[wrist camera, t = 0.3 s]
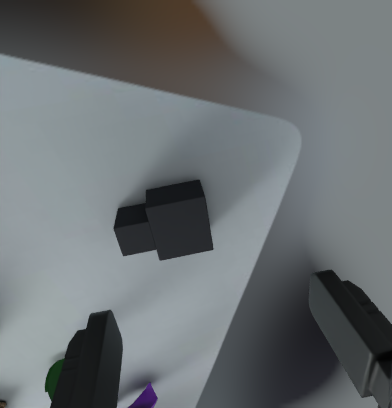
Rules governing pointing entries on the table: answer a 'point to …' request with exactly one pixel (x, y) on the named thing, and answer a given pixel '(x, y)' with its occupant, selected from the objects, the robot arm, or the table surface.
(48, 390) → the flower
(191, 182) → the small pad
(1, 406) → the picture frame
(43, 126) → the table surface
